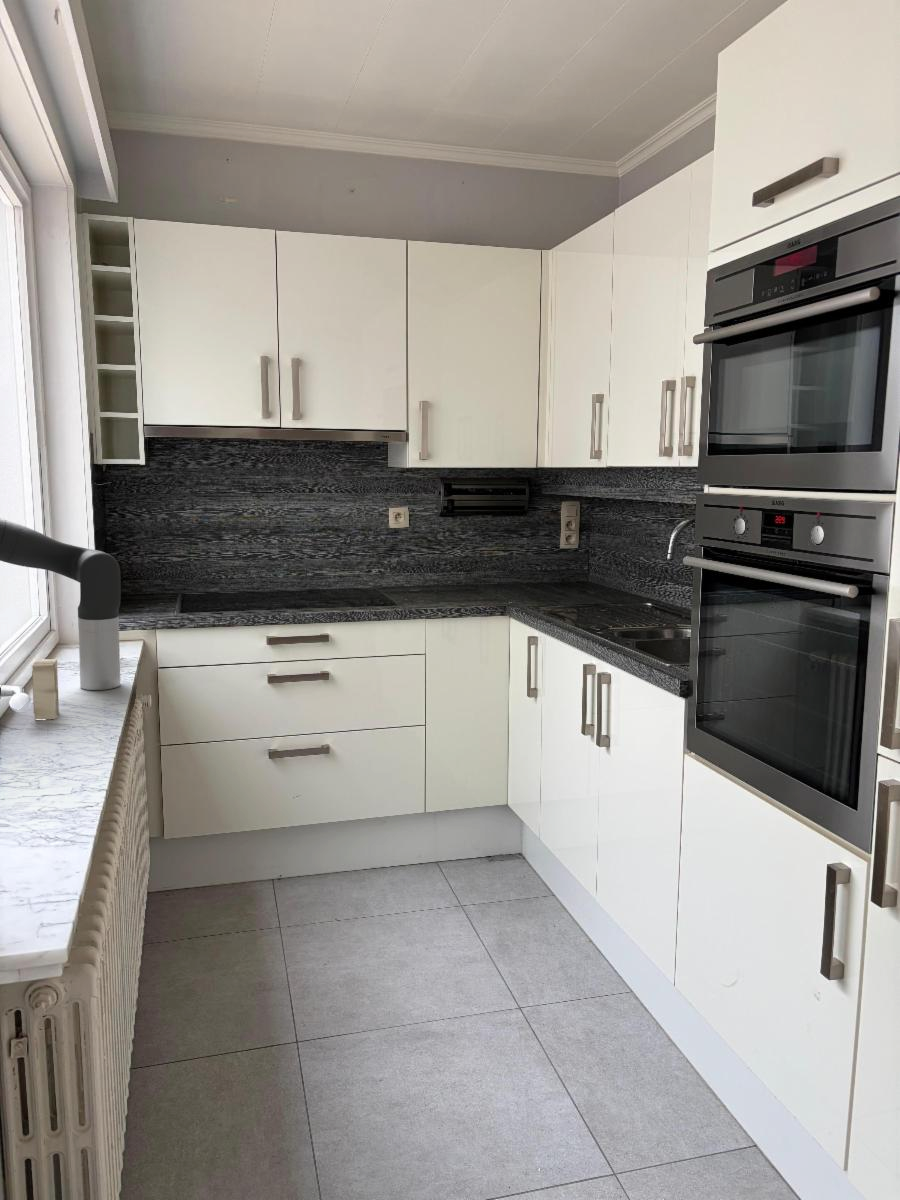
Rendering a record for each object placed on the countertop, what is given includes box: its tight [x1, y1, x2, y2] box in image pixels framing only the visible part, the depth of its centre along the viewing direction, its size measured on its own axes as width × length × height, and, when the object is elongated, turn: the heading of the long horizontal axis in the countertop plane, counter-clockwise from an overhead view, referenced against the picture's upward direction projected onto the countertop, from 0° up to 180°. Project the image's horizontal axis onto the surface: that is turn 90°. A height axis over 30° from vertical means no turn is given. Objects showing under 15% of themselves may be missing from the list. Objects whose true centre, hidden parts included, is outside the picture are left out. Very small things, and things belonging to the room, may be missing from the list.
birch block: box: [31, 658, 60, 720], centre depth 198 cm, size 6×4×12 cm
